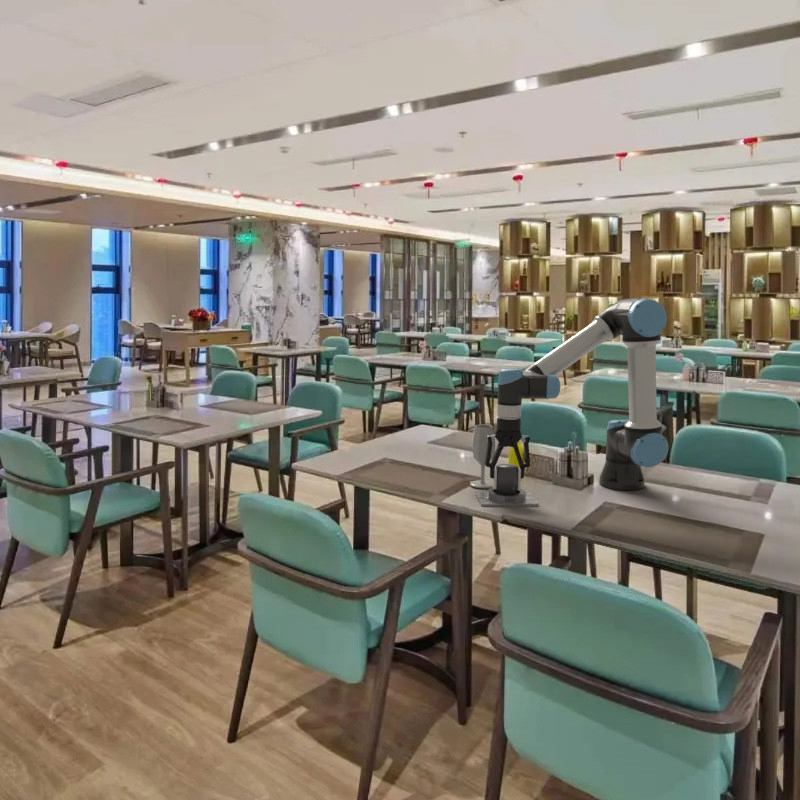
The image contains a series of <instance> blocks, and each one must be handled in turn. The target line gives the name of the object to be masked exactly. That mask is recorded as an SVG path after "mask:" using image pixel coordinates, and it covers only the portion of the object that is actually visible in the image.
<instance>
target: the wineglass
mask: <svg viewBox="0 0 800 800" xmlns="http://www.w3.org/2000/svg"><path fill="white" fill-rule="evenodd" d="M487 435H495V431H494V428H493V425H490V424H475V427H474V429H473V434H472V439H471V450H472V455H473V459H474V460H475V461H476V462H477V463H478V464H480V480H472V481H469V483H470V487H473V488H474V489H475V488H476V489H484V490H485V489H487V490H488V489H490V488H492V487H493V481H490V480H485V476H486V474H485V472H486V466H485V464H484V463H485V456H486V449H487V443H488V442H487ZM495 451H496V438H495V439H494V442H492V451H491V458H490V462H491V461H492V459H493V456H494V454H495Z"/></svg>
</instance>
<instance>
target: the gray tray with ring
mask: <svg viewBox="0 0 800 800" xmlns="http://www.w3.org/2000/svg"><path fill="white" fill-rule="evenodd" d="M475 496H476V498H477V500H478V502H479V504H480V506H481V507H539V502H538V500H537V499H536V498H535V497H534V496H533V495H532V493H531V492H530V491H528V492H526V491H525V490H524V489H522V488H520V489H517V493H515V494H501V493H497V492H496V491H495V489H494V488H493V487H492V488H488V489H487V491H486V492H485V491H483V492H482V491H481V492H478V491H477V492H475Z"/></svg>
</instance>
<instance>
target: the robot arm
mask: <svg viewBox="0 0 800 800" xmlns="http://www.w3.org/2000/svg"><path fill="white" fill-rule="evenodd" d="M667 322H668V315H667V312H666V309H665V308H664V306H663V305H662V304H661V303H660V302H659V301H656V300H655V299H651V298H648V297H647V298H646V297H642V298H636V297H635V298H633V297H628V298H627V297H626V298H623V299H620V300H617V301H616V302H614V303H613V304H612V305H610V306H609V307H607V308H605V309H604V310H603V311H601V312H600V313H598V314H597V315H595V316H594V318H593V322H591V323H590V324H588V325H587V326H586V327H584V328H583V329H582V330H580V331H579V332H577V333H576V334H574V335H572V336H571V337H570V338H568V339H567V340H565V341H564V342H562V343H561V344H560V345H558V346H557V347H555V348H554V349H553V350H552V351H549V352H548V353H547V354H546V355H544V356H543V357H541V358H540V359H539V360H537V361H536V362H534V363H533V364H532V365H529V367H527V368H523V369H520V368H513V367H512V368H511V367H509V368H508V367H507V368H501V369H500V370H499V372H498V379H497V409H496V410H497V411H496V413H497V414H496V416H497V418H496V429H495V430H496V431H495V432H494V435H487V442H488V443H487V449H486V456H485V463H484V464H485V468H486V467H487V468H489V477H490V479H492V482H493V488H494V489H496V486H497V469H496V466H497V465H498V461H499V458H500V456H501V453H502V451H503V450H504V448H507V447H510V448H513V452H514V455H515V457H516V460H517V464H518V466H517V467H518V485H517V489H521V480H522V479H524V477H525V469H526V468H529V467H531V458H530V440H531V437H530V436H529V435H527V434H526V435H525V434H524V435H523V434H522V432H521V429H522V428H521V426H522V425H521V423H522V420H521V417H522V403H523V402H522V401H523V399H526V400H527V399H531V400H534V399H536V400H540V399H542V400H544V399H546V400H550V399H556V398H558V396H559V395H560V393H561V381H560V378H559V377H558V376H557V375H559V374H561V373H562V372H564V371H565V370H566V369H568V368H569V367H570V366H573V364H575V363H577V362H578V361H579V360H580V359H582V358H584V356H586V355H588V354H589V353H591V352H592V351H593V350H594V349H596V348H598V347H599V346H601V345H602V344H603V343H605V342H606V341H610V342H611V341H613V340H614V339H616V338H618V337H620V336H622V343H623V344H624V345H625V346H626V347H627V378H628V379H627V380H628V381H627V382H628V383H627V384H628V389H627V391H628V419H611V420H609V421H608V422H607V428H606V440H605V441H606V447H605V463H604V465H603V467H602V470H601V471H600V475H599V478H598V481H599V483H598V484H599V485H600V486H602V487H605V488H607V489H612V490H617V491H637V490H642V489H644V488H645V476H644V473H643V470H642V467H644V468H653V467H657V466H658V465H660V464H662V462H663V461H664V460H666V457H667V455H668V452H669V441H668V440H667V438H666V437H665V436H664V435H663V425H662V423H661V422H660V421H659V420H658V419H657V418H658V415H657V414H658V413H657V412H658V411H657V359H656V358H657V351H656V349H657V347H656V346H657V345H658V344H659V343H660V342H661V333H662V332H663V331H664V329H665V328H666V326H667ZM494 439H495V440H497V441H498V443H497V446H496V448H495V453H494V456H493V459H492V460H491V461H490V458H491V451H492V442H494ZM520 440H521V441H522V443H523V454H524V456H523V457H524V458H522V455H521V453H520V450H519V445H518V443H519V441H520ZM523 459H524V460H523Z"/></svg>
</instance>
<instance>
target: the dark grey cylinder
mask: <svg viewBox="0 0 800 800" xmlns="http://www.w3.org/2000/svg"><path fill="white" fill-rule="evenodd" d="M495 467H496V469H497V486H496V489H495V491H496V492H497V493H501V494H515V493H517V485H518V467H519V466H518V465H516V464H514V463H513V464H512V463H499V464H496V466H495Z"/></svg>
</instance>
